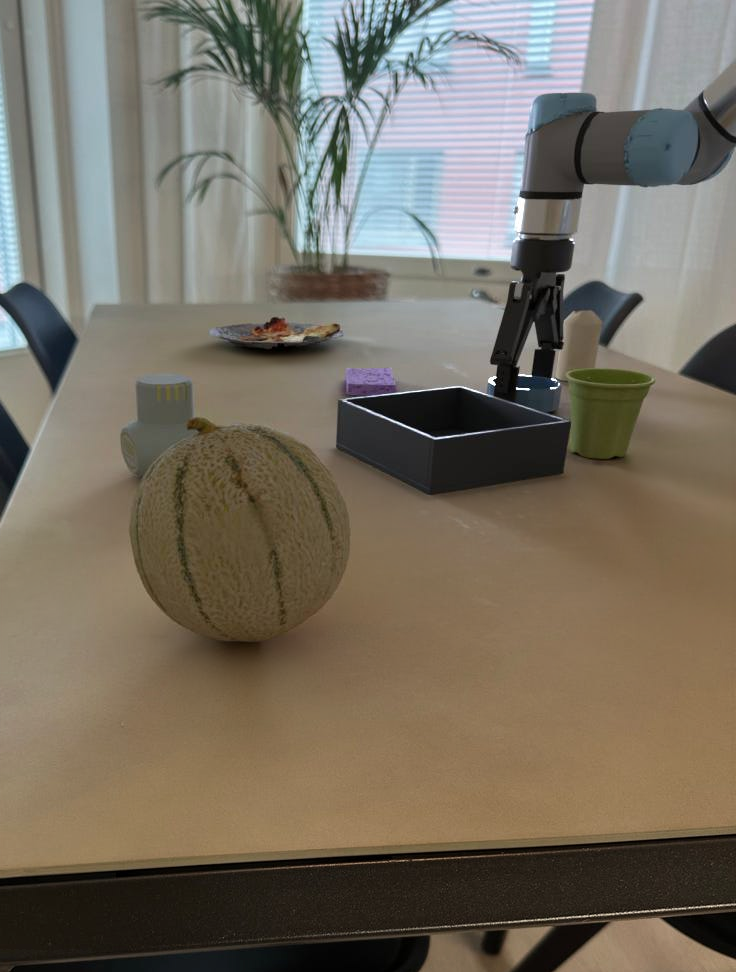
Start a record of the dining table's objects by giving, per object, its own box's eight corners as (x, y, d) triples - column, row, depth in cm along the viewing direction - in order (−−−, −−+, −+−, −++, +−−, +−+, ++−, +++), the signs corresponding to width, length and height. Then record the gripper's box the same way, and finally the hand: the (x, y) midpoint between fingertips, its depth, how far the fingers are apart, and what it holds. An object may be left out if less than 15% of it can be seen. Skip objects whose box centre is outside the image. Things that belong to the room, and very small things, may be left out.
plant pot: (550, 459, 102) (562, 380, 98) (558, 438, 110) (569, 365, 106) (639, 468, 99) (655, 387, 95) (640, 446, 107) (655, 371, 103)
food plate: (281, 329, 184) (281, 311, 183) (368, 344, 169) (369, 324, 168) (184, 343, 169) (184, 323, 168) (270, 361, 154) (270, 339, 153)
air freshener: (118, 464, 100) (111, 372, 96) (189, 456, 103) (186, 366, 99) (144, 493, 92) (138, 393, 87) (222, 484, 94) (220, 386, 90)
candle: (587, 384, 138) (598, 314, 133) (550, 379, 140) (560, 311, 136) (596, 377, 142) (608, 310, 137) (561, 373, 144) (571, 307, 140)
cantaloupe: (361, 677, 59) (375, 448, 52) (132, 686, 58) (115, 453, 51) (327, 584, 72) (335, 391, 65) (140, 590, 71) (127, 395, 64)
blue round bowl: (573, 412, 122) (578, 385, 120) (516, 419, 118) (520, 392, 117) (526, 397, 130) (529, 372, 128) (471, 404, 126) (474, 378, 124)
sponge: (346, 396, 130) (347, 383, 129) (345, 378, 141) (346, 366, 140) (395, 397, 130) (396, 384, 129) (390, 379, 141) (391, 366, 140)
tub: (563, 473, 98) (571, 421, 95) (429, 494, 91) (434, 439, 89) (456, 431, 113) (461, 385, 110) (335, 447, 107) (337, 399, 104)
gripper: (549, 230, 125) (527, 386, 135) (476, 241, 107) (457, 421, 117) (604, 232, 121) (577, 393, 131) (538, 244, 103) (513, 430, 113)
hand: (520, 406), depth 124 cm, fingers open, 13 cm apart
